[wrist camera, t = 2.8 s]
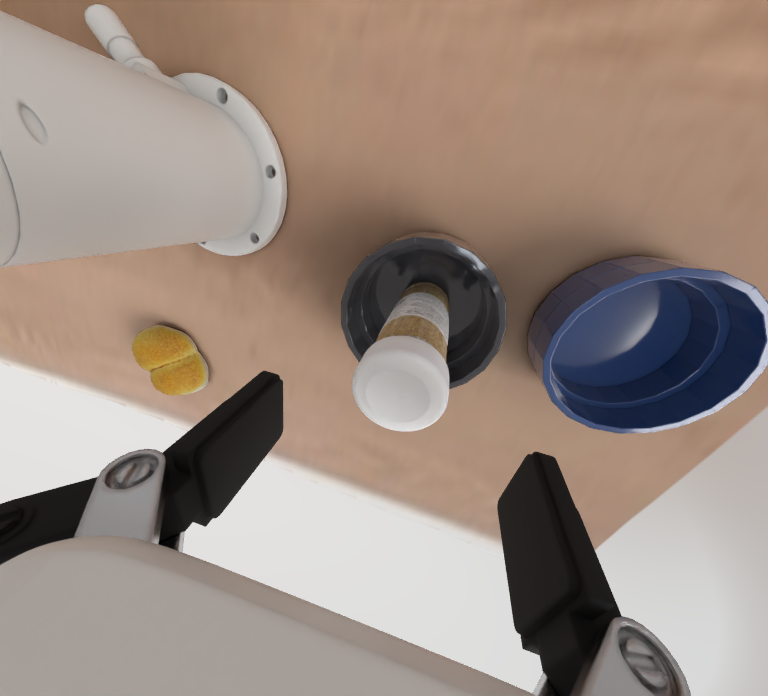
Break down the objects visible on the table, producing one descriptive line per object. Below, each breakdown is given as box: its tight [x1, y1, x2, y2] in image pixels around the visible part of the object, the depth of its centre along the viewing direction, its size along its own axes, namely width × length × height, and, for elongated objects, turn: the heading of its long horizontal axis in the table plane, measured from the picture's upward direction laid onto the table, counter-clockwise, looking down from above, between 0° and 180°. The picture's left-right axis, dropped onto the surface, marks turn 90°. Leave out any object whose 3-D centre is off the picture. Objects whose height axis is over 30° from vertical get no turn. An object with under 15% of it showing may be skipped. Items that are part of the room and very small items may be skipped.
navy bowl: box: [528, 256, 768, 433], centre depth 20 cm, size 12×12×5 cm
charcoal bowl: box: [341, 232, 507, 389], centre depth 22 cm, size 12×12×5 cm
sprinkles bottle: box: [352, 282, 450, 432], centre depth 18 cm, size 5×5×14 cm
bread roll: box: [132, 325, 209, 395], centre depth 32 cm, size 8×9×4 cm
